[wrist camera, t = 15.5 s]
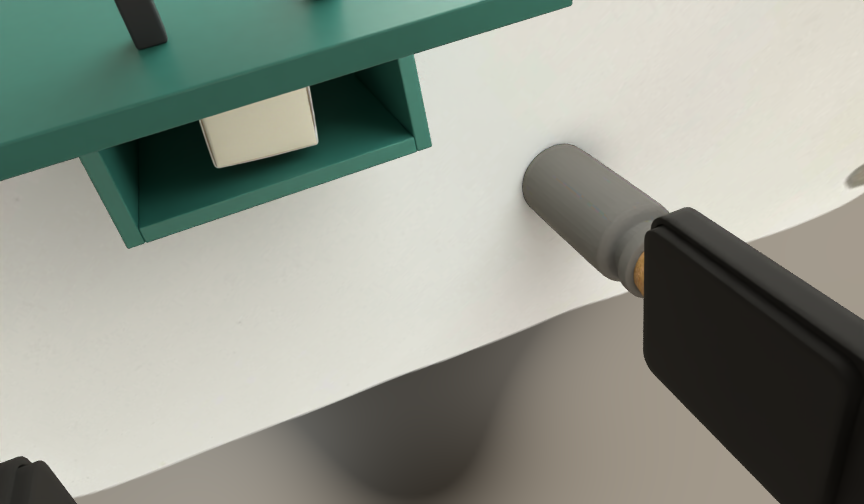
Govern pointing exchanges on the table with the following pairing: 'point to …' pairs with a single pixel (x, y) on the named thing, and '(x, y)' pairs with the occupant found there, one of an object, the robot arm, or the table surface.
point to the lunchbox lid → (196, 60)
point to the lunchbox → (265, 178)
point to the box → (261, 129)
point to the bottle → (593, 211)
